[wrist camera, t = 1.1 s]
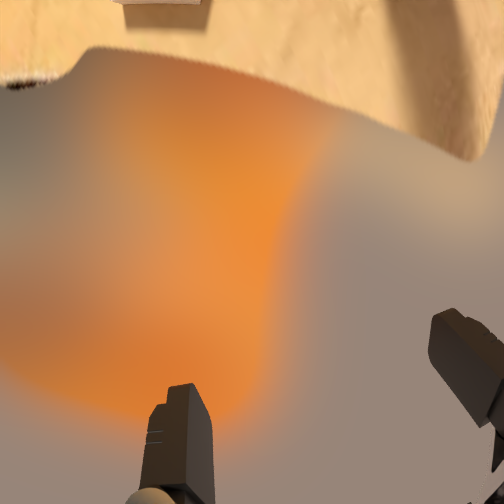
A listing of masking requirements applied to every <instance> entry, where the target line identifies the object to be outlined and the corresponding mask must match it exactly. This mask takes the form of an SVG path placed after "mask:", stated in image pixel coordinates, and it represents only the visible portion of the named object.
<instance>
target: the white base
mask: <svg viewBox="0 0 504 504" xmlns="http://www.w3.org/2000/svg"><path fill="white" fill-rule="evenodd" d="M110 1H113V2H116V3H119V4H122V5H123V4H149V3H171V4H197V5H200V2H201V0H110Z"/></svg>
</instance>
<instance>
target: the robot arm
mask: <svg viewBox="0 0 504 504" xmlns="http://www.w3.org/2000/svg"><path fill="white" fill-rule="evenodd" d="M428 354H429V359H430V362H431V364H432V365H433V367H434V368H435V369H436V370H437V372H438V373H439V374H440V376H441V377H442V378H443V379H444V381H445V382H446V383H447V385H448V386H449V387H450V389H451V390H452V391H453V393H454V394H455V395H456V396H457V398H458V399H459V400H460V402H461V403H462V404H463V406H464V407H465V409H466V410H467V411H468V413H469V414H470V416H471V417H472V418H473V420H474V421H475V422H476V424H477V425H478V427H479V428H481V427H482V426H484V425H486V424H487V423H489V422H491V423H492V424H493V428H492V431H491V439H490V449H489V458H488V465H487V472H486V478H485V481H484V484H483V486H482V488H481V490H480V492H479V495H478V498H477V502H476V504H504V344H503V343H502V342H501V341H500V340H497V337H496V336H495V335H494V334H493V333H490V331H489V330H488V329H487V328H486V327H485V326H484V325H483V324H482V323H480V322H479V321H476V320H474V319H472V318H470V317H466V318H465V317H464V316H463V315H462V314H461V313H459V312H458V311H457V310H456V309H454V308H450V309H448V310H446V311H443V312H441V313H438V314H436V315H434V316H433V318H432V323H431V331H430V339H429V346H428ZM147 432H148V434H147V437H146V445H145V450H144V457H143V465H142V472H141V480H140V487H139V489H138V491H136V492H135V493H133V494H132V495H131V496H130V497H129V498H128V500H127V501H126V503H125V504H215V488H214V466H213V437H212V424H211V420H210V416H209V414H208V411H207V409H206V407H205V405H204V403H203V401H202V399H201V397H200V395H199V393H198V391H197V389H196V387H195V385H194V384H193V383H189V384H184V385H178V386H171V387H169V389H168V394H167V402H166V404H159V405H157V406H156V408H155V409H154V411H153V412H152V414H151V416H150V417H149V423H148V430H147ZM468 504H472V503H471V502H470V503H468Z"/></svg>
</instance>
